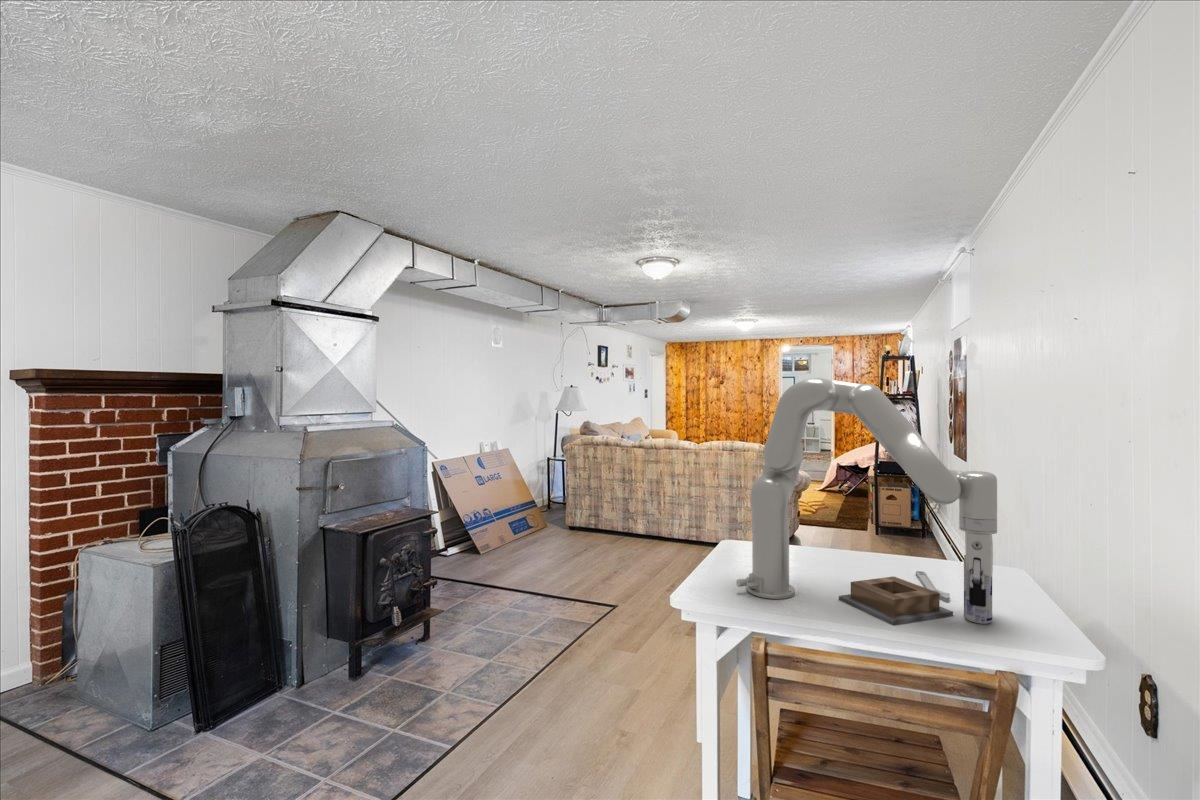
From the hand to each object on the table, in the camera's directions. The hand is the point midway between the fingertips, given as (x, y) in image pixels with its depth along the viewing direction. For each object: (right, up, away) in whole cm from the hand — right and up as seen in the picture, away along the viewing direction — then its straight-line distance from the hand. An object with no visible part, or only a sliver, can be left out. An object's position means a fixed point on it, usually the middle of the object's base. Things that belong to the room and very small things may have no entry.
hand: (978, 601), depth 139 cm
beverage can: (0, -5, 0) cm, 5 cm away
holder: (-16, -5, +9) cm, 18 cm away
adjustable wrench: (+2, -5, +23) cm, 24 cm away
